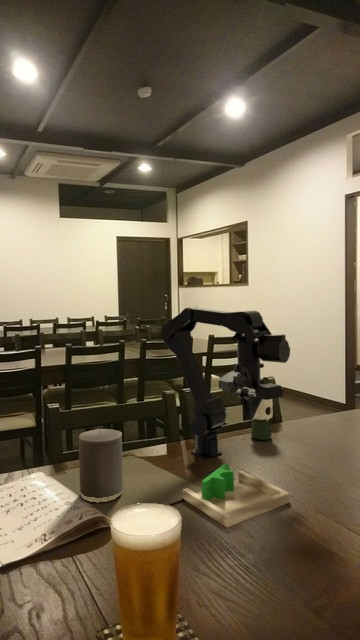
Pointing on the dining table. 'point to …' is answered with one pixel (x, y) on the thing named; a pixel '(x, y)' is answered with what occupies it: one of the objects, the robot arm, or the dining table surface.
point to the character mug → (262, 421)
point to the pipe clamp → (218, 483)
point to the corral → (240, 500)
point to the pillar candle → (100, 463)
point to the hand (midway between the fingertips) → (250, 419)
